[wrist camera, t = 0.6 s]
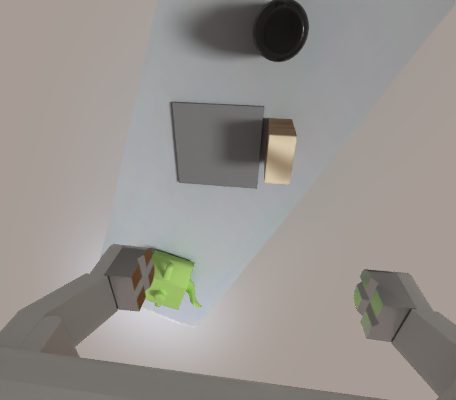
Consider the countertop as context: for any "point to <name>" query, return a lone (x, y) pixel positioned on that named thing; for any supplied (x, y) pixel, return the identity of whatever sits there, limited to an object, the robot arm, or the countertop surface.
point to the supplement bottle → (281, 30)
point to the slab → (279, 151)
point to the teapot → (171, 281)
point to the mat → (218, 143)
